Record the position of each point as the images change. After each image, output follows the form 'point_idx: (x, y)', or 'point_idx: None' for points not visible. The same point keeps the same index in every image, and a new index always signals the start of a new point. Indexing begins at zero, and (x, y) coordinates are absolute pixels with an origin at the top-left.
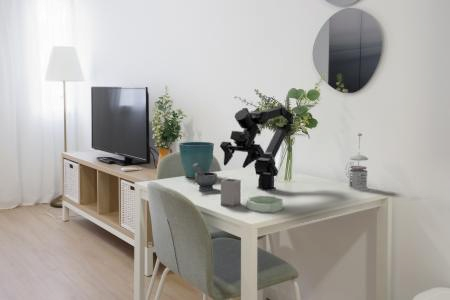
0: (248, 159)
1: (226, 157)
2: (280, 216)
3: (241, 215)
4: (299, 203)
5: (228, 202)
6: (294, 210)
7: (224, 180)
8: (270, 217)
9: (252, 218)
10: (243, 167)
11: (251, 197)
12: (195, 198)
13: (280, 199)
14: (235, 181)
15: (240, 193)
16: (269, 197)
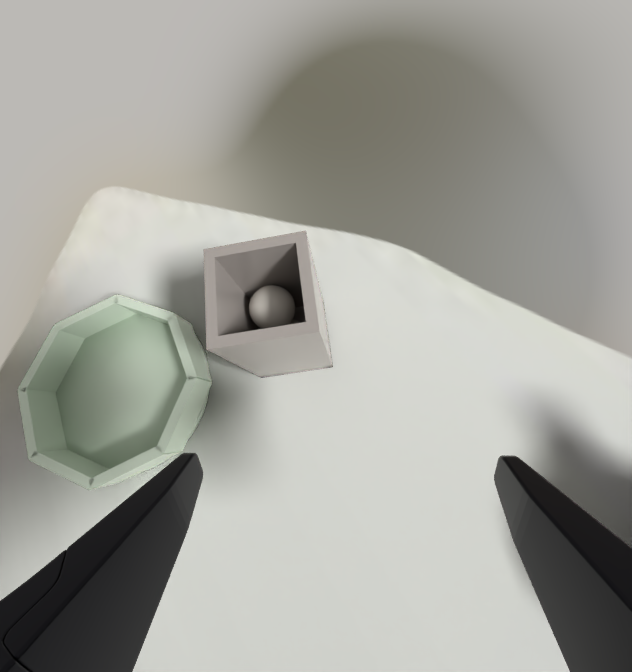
0: (63, 572)
1: (592, 573)
2: (37, 313)
3: (168, 235)
4: (7, 585)
5: None
6: (5, 430)
7: (299, 263)
8: (66, 279)
9: (118, 231)
10: (193, 464)
11: (186, 386)
12: (526, 326)
13: (41, 452)
14: (209, 278)
15: (243, 367)
16: (112, 469)
